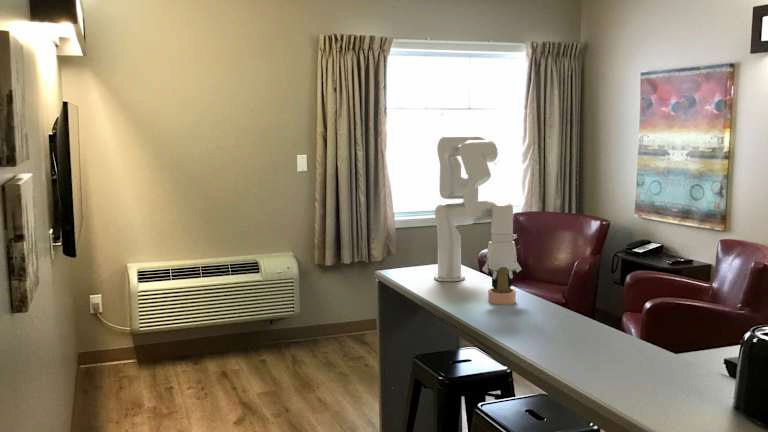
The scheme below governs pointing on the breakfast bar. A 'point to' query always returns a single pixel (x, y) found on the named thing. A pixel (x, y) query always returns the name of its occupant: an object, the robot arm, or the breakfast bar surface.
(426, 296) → the breakfast bar surface
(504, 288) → the cork
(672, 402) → the breakfast bar surface
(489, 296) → the pink faceted round bowl
